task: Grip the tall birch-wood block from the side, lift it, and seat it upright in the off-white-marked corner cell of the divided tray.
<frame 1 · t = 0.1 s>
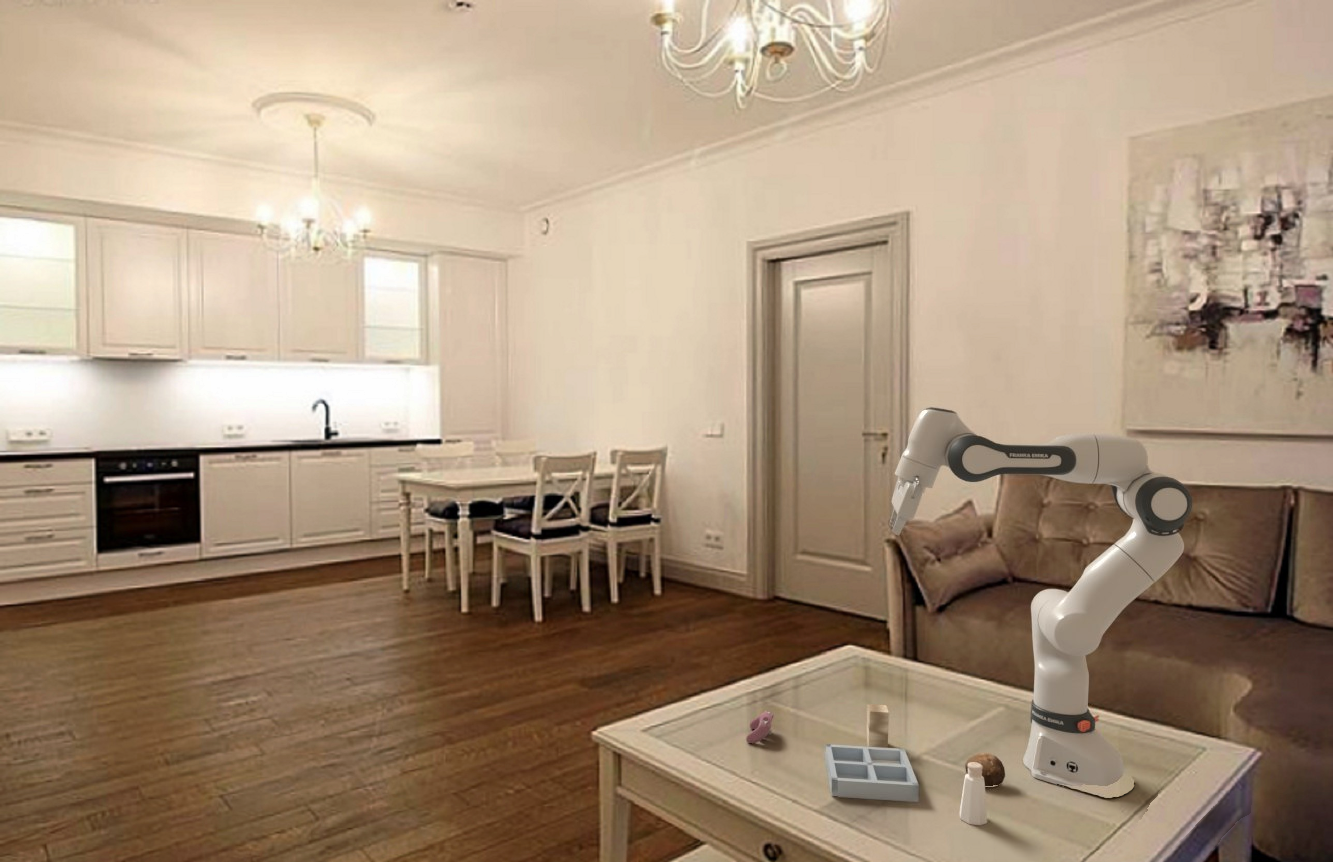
hand: (893, 530, 197), 52 cm above the table, fingers open, 8 cm apart
video game controller: (760, 738, 207), on the table
divided tray: (869, 779, 186), on the table
pepper shaker: (973, 819, 170), on the table
birch block: (876, 745, 203), on the table
mushroom: (984, 783, 185), on the table
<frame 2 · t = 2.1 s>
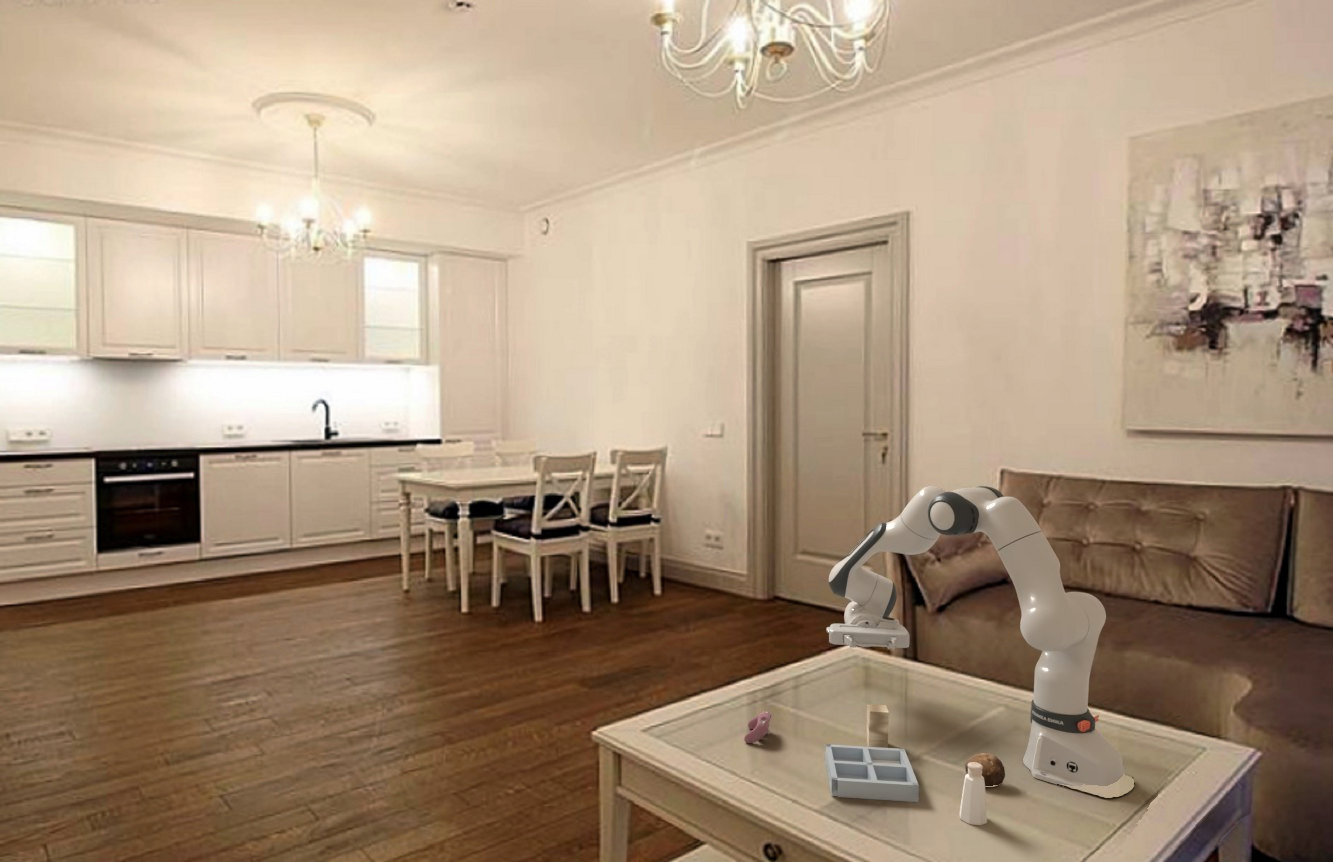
hand: (872, 645, 214), 20 cm above the table, fingers open, 8 cm apart
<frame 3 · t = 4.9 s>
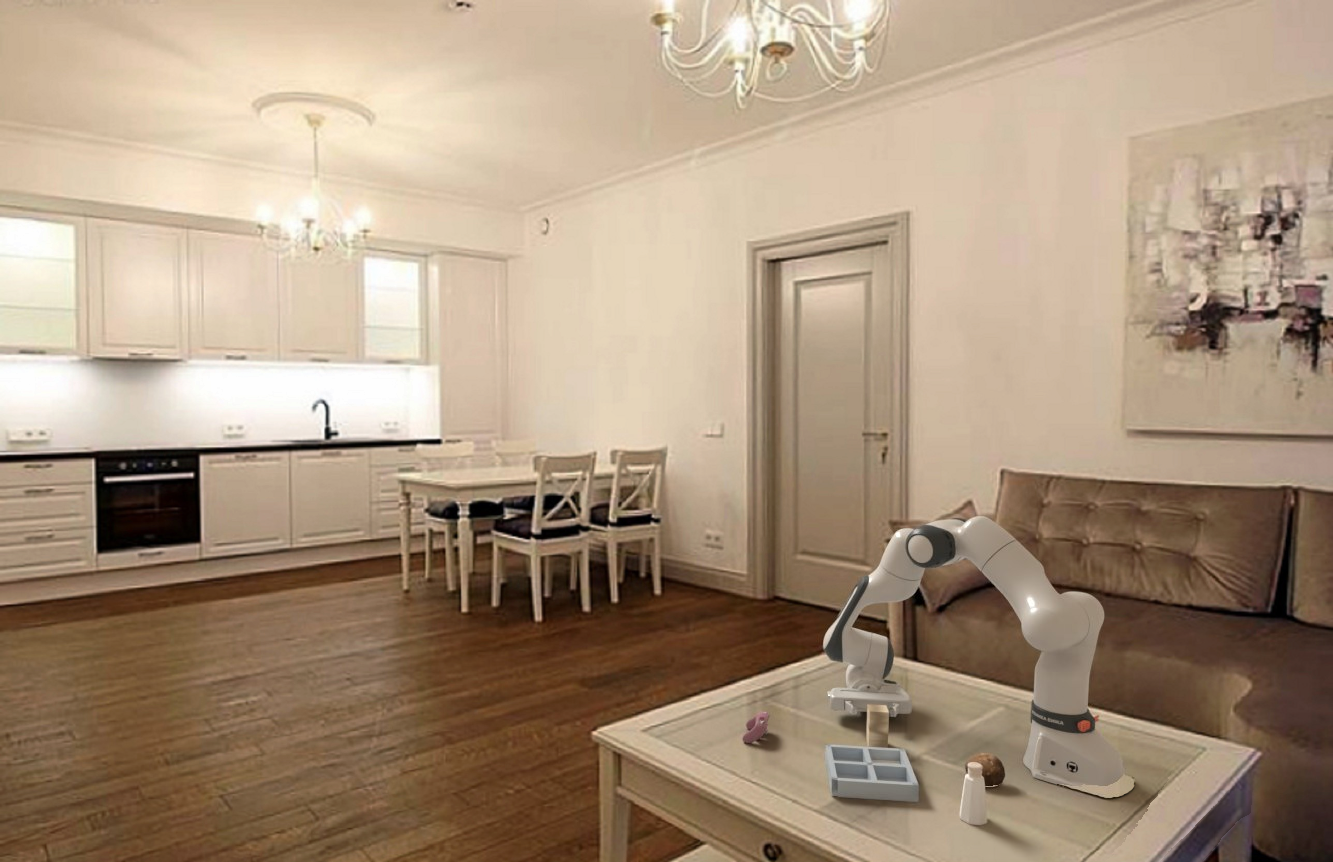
hand: (873, 712, 210), 5 cm above the table, fingers open, 8 cm apart
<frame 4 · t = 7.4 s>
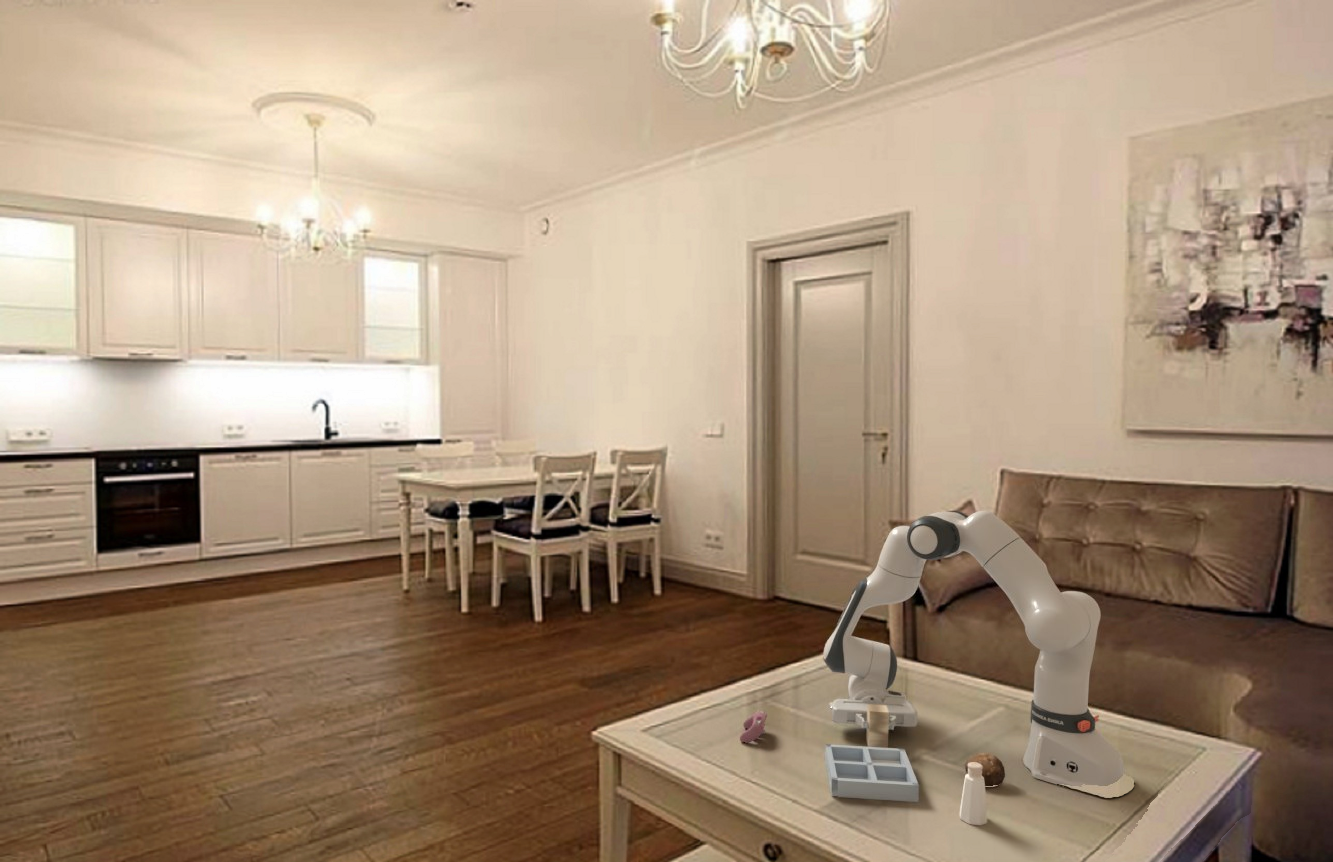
hand: (878, 726, 202), 5 cm above the table, fingers closed on birch block, 4 cm apart
birch block: (876, 745, 203), on the table, touching gripper
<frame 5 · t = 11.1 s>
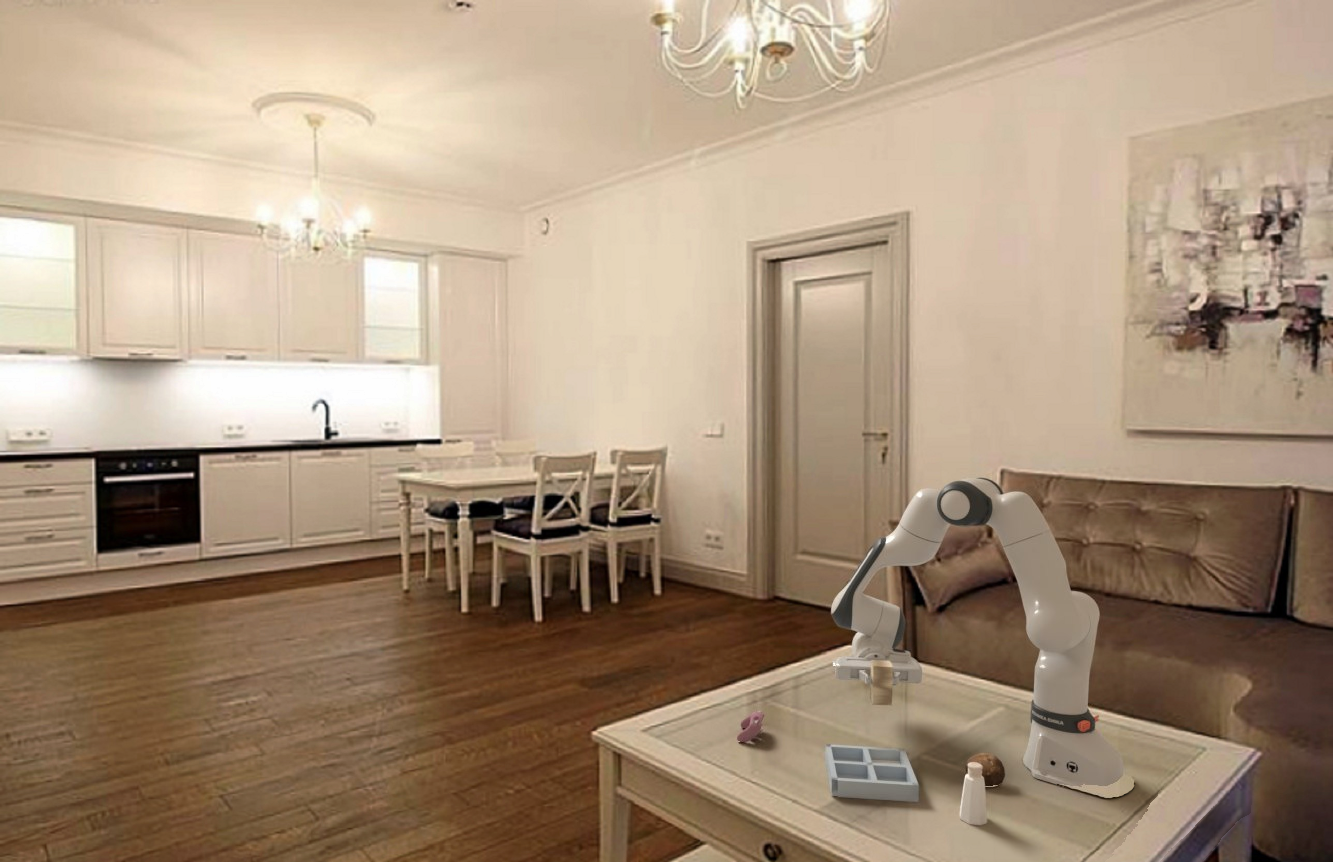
hand: (881, 681, 198), 17 cm above the table, fingers closed on birch block, 4 cm apart
birch block: (880, 701, 199), point 12 cm above the table, touching gripper
when the fingers open (8 cm above the table, at t = 14.9 s): birch block drops 2 cm, resting on divided tray.
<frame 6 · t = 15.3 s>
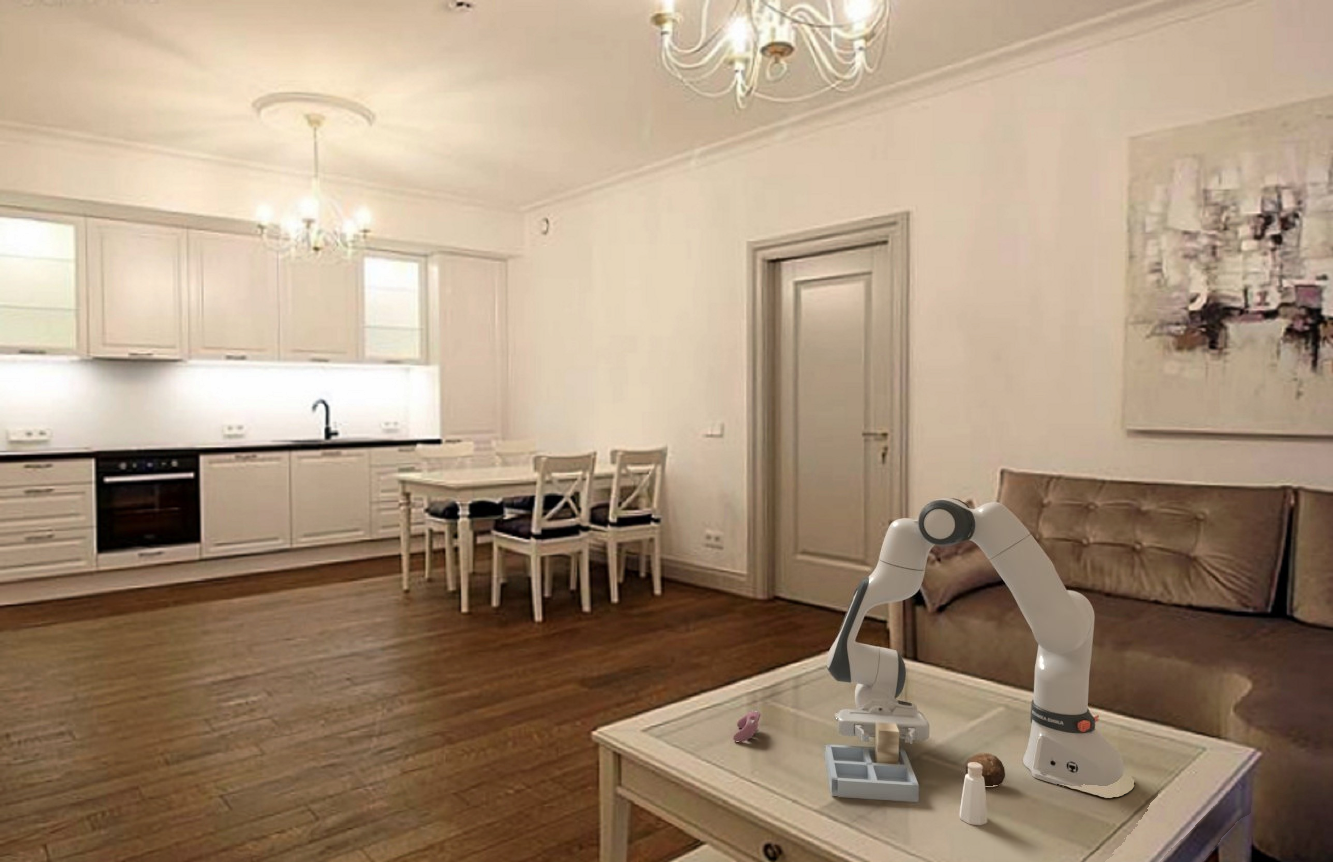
hand: (887, 739, 188), 8 cm above the table, fingers open, 8 cm apart
birch block: (886, 766, 189), point 1 cm above the table, touching divided tray
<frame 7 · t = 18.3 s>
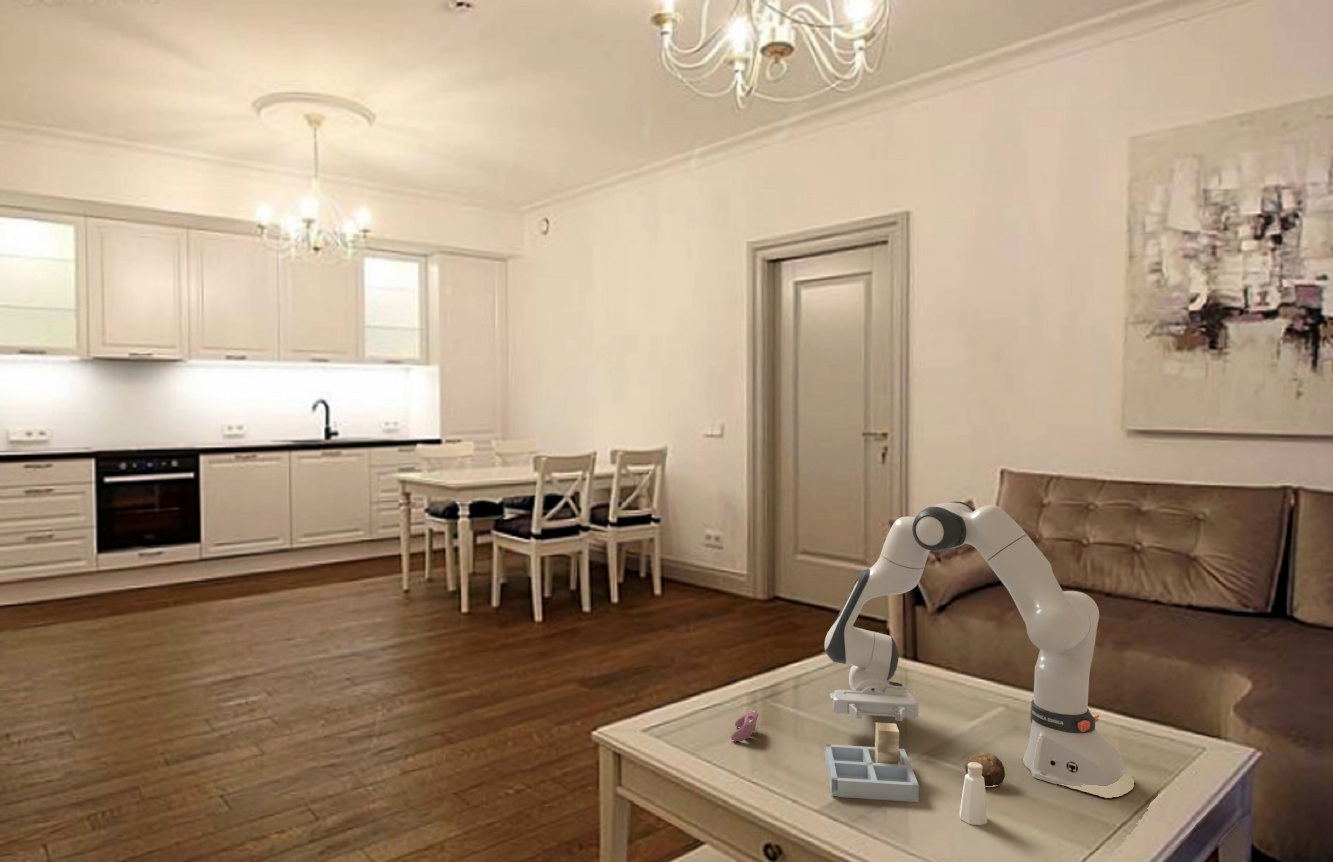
hand: (878, 716, 200), 8 cm above the table, fingers open, 8 cm apart
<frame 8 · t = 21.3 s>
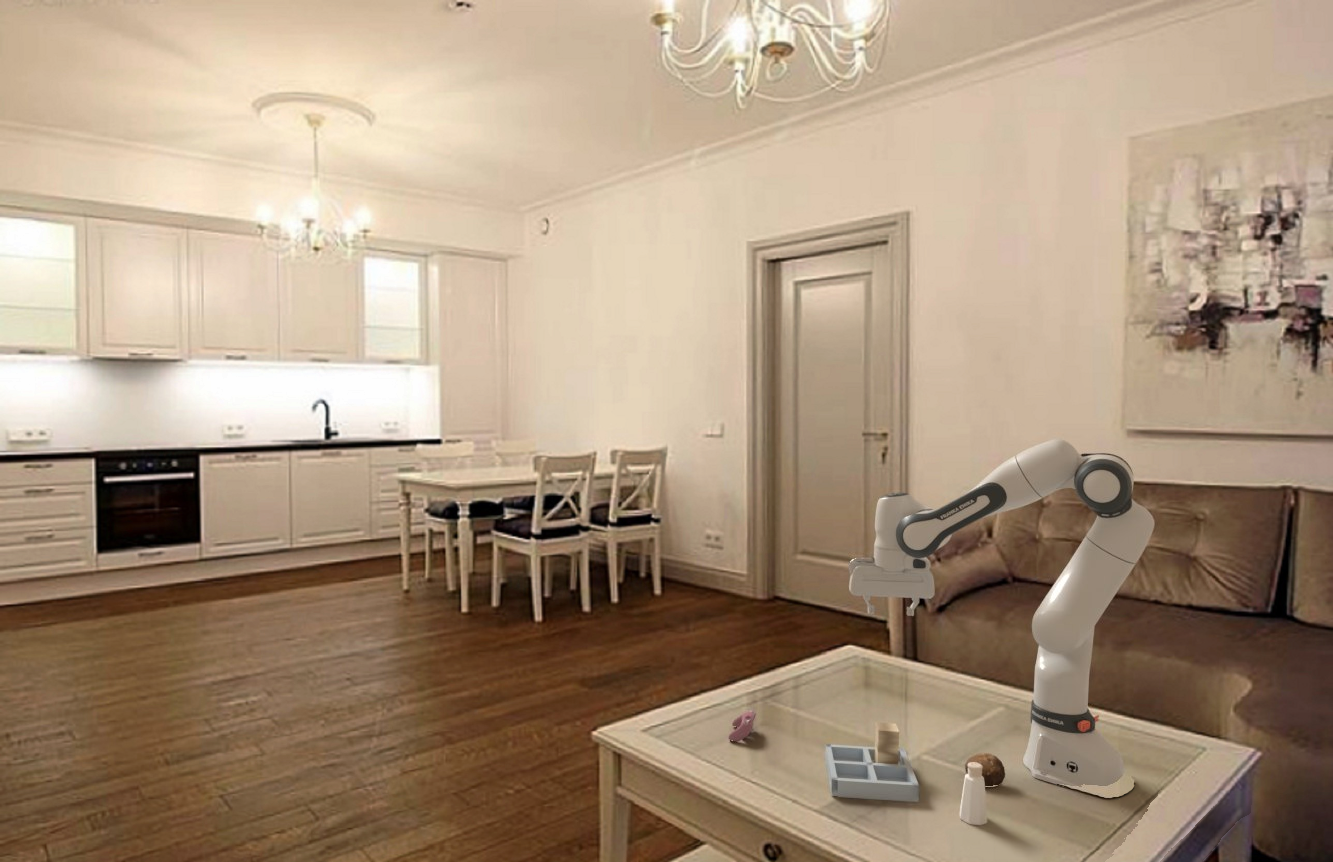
hand: (890, 614, 210), 29 cm above the table, fingers open, 8 cm apart
at the end: birch block 0.0 cm from the target spot, point 1.2 cm above the table; birch block tilted 0°; the gripper is holding nothing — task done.
